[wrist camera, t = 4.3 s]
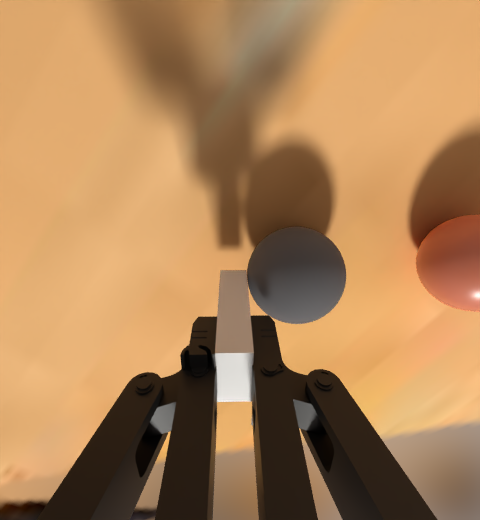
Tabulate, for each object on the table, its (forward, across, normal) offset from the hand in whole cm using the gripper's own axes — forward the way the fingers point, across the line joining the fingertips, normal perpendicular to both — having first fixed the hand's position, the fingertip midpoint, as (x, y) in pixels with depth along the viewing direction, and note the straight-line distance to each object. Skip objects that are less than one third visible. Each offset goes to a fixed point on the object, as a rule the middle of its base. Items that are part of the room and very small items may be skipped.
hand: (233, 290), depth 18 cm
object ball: (0, +14, +2) cm, 14 cm away
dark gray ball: (0, +4, +1) cm, 4 cm away
